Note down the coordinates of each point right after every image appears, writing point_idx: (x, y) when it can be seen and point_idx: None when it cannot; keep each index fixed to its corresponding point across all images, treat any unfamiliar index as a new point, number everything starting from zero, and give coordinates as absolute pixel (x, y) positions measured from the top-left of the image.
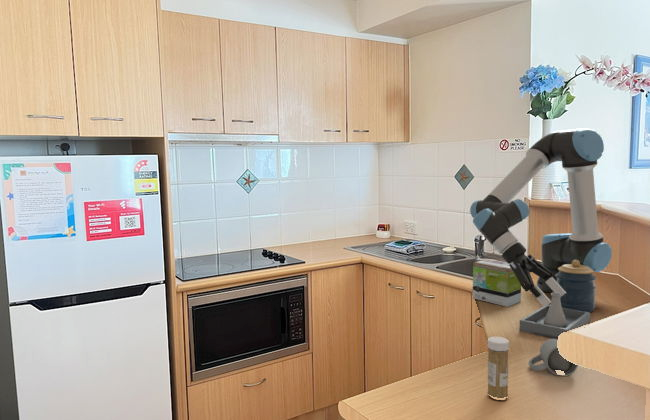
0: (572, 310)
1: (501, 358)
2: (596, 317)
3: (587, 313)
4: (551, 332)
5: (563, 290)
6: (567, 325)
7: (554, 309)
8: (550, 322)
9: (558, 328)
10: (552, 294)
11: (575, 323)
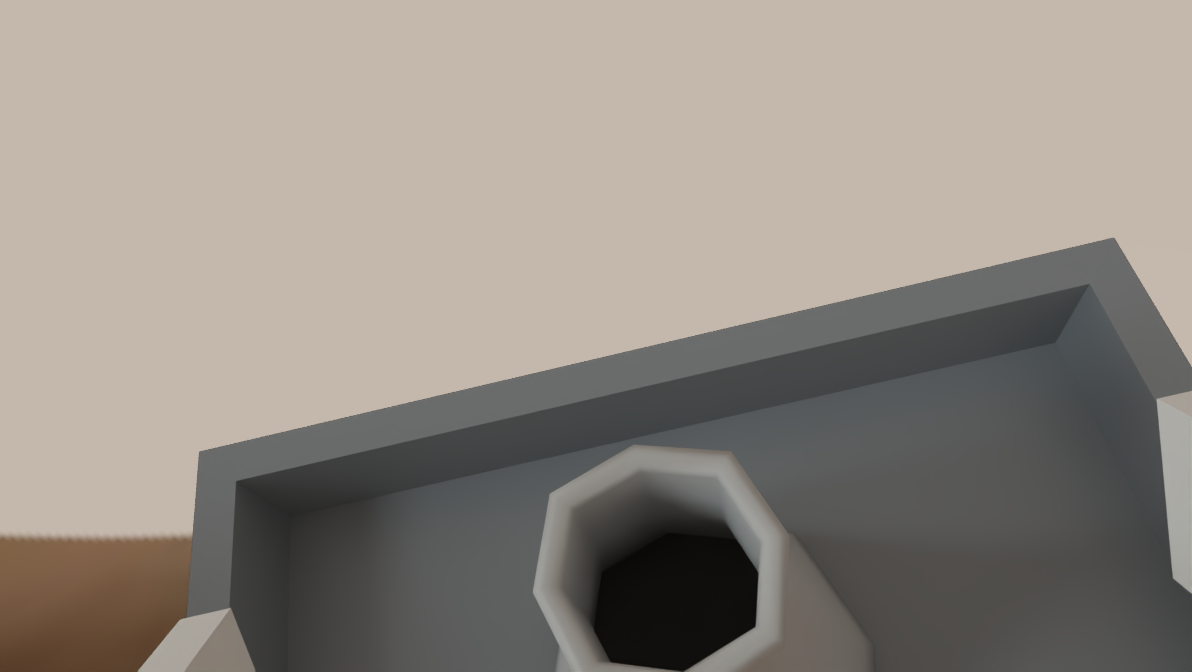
0: None
1: None
2: (10, 564)
3: (256, 453)
4: None
5: (185, 653)
6: None
7: (795, 597)
8: (864, 663)
9: (1167, 328)
10: (786, 589)
11: (780, 319)
